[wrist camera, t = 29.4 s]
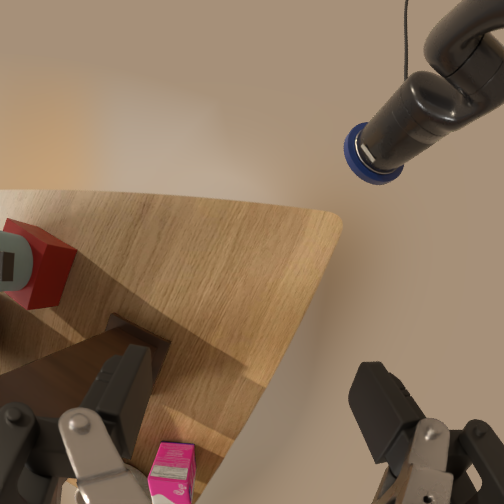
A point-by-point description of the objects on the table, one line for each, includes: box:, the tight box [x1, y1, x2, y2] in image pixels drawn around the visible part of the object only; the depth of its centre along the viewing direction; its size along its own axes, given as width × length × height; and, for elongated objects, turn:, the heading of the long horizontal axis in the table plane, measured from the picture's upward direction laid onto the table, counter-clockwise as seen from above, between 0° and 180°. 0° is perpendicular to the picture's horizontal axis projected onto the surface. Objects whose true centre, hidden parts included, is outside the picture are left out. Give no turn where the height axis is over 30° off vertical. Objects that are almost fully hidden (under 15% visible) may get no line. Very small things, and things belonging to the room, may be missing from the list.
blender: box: [0, 218, 77, 310], centre depth 29 cm, size 10×10×23 cm
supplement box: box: [148, 441, 196, 504], centre depth 34 cm, size 6×6×12 cm
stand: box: [0, 313, 171, 504], centre depth 25 cm, size 10×10×32 cm
